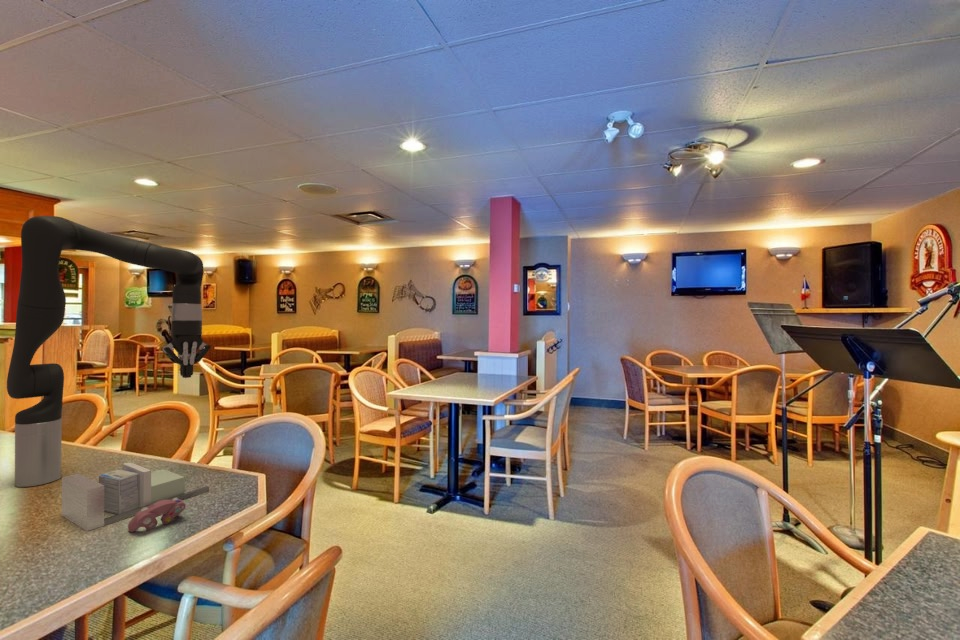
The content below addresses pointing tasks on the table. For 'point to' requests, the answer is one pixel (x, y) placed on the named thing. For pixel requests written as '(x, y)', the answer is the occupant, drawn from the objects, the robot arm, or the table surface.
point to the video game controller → (156, 514)
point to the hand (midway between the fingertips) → (186, 377)
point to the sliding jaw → (156, 484)
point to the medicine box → (120, 491)
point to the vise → (96, 502)
